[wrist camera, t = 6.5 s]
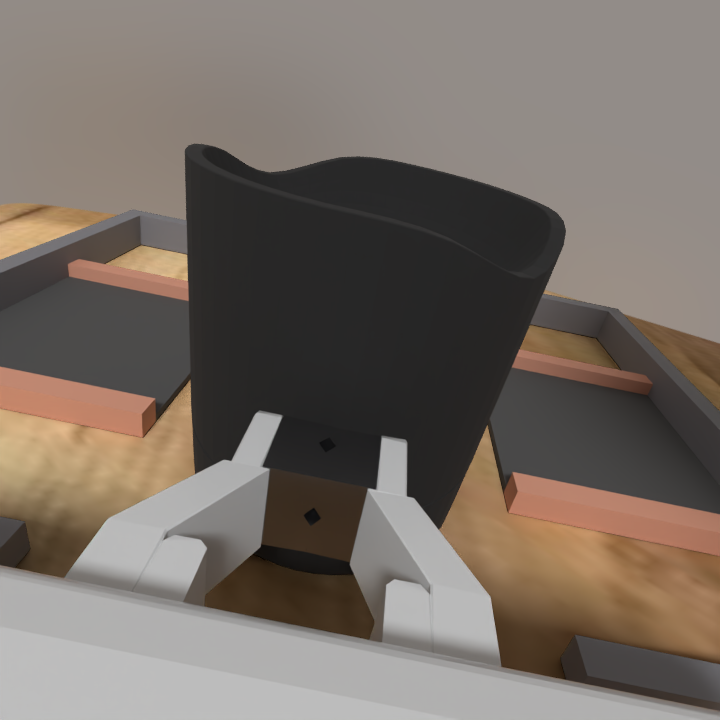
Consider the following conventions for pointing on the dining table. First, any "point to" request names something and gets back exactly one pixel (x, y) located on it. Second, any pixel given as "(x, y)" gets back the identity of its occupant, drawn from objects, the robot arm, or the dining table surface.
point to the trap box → (506, 425)
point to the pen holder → (358, 308)
